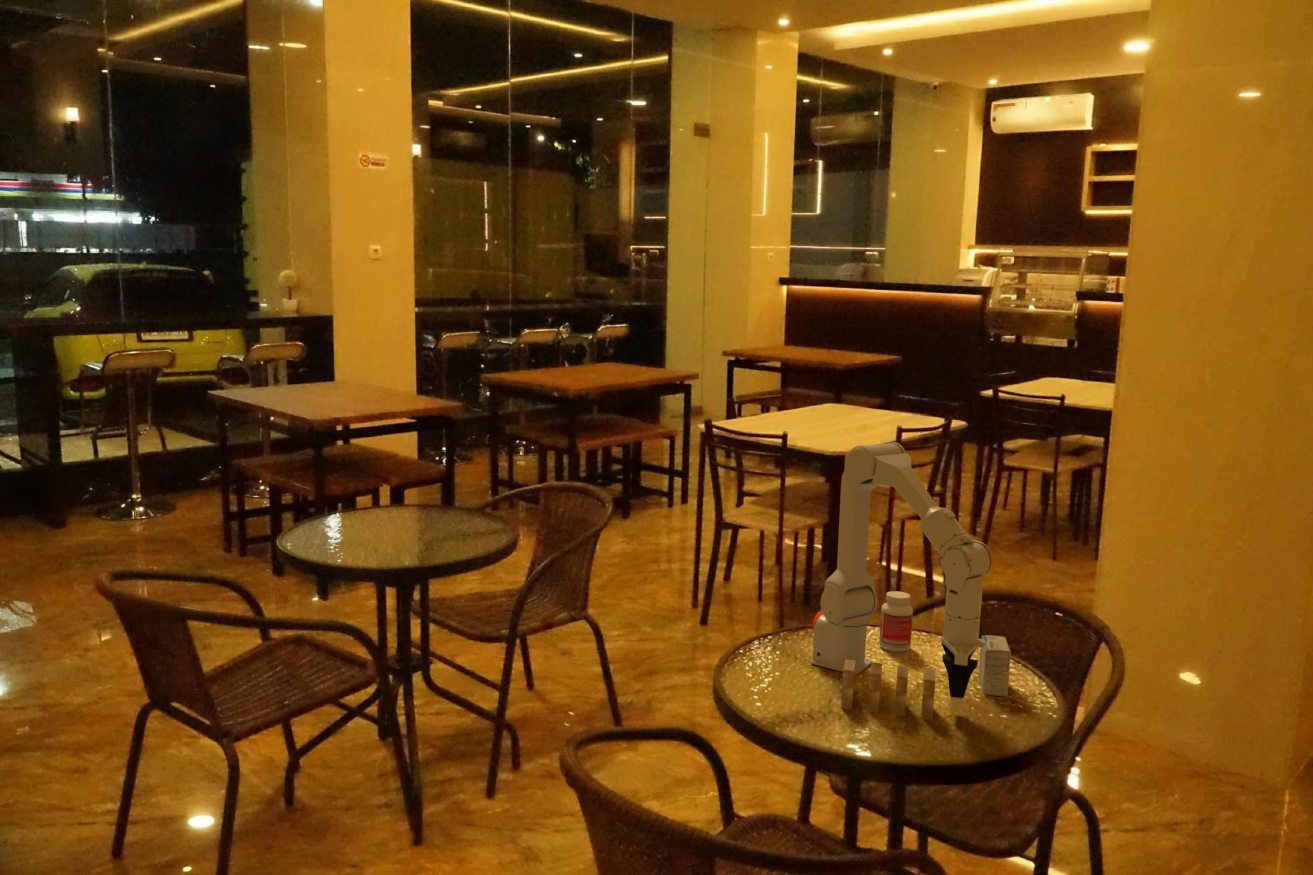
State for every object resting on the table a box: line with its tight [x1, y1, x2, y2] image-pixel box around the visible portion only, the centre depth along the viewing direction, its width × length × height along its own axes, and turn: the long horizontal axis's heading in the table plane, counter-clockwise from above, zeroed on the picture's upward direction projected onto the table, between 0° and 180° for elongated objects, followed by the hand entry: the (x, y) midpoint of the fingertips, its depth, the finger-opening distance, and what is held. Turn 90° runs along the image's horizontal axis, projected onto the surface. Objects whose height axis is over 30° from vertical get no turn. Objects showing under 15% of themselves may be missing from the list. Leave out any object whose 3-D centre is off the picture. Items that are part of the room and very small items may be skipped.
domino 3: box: [894, 665, 909, 717], centre depth 179 cm, size 2×5×7 cm, turn 165°
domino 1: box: [840, 659, 856, 710], centre depth 181 cm, size 2×5×7 cm, turn 166°
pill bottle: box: [878, 590, 914, 653], centre depth 208 cm, size 6×6×11 cm
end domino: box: [949, 695, 963, 713], centre depth 176 cm, size 2×5×7 cm, turn 165°
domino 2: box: [867, 661, 883, 713], centre depth 180 cm, size 2×5×7 cm, turn 166°
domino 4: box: [921, 668, 936, 721], centre depth 178 cm, size 2×5×7 cm, turn 165°
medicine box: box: [978, 634, 1012, 697], centre depth 189 cm, size 8×4×9 cm, turn 168°
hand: (956, 690), depth 176 cm, fingers closed on end domino, 5 cm apart
